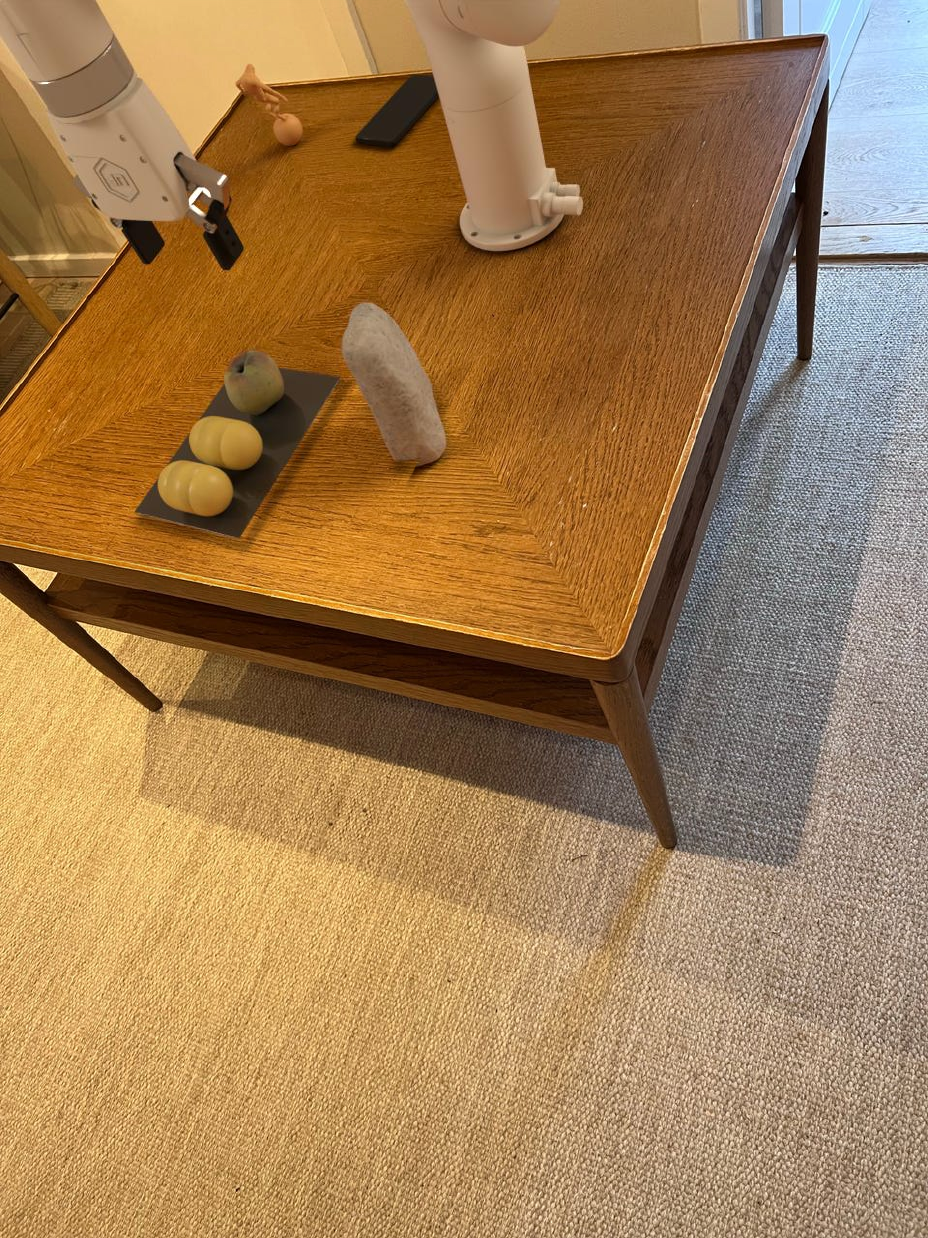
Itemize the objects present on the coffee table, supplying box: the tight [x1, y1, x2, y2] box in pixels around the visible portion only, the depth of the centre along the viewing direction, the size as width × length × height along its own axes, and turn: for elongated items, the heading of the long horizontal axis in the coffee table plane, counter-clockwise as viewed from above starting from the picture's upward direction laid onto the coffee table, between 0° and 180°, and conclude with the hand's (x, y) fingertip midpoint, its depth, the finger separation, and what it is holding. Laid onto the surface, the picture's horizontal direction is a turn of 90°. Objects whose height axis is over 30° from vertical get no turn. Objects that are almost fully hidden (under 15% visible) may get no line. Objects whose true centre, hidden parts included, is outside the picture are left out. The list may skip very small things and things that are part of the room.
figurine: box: [235, 63, 303, 147], centre depth 123 cm, size 8×6×12 cm
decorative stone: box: [341, 302, 447, 468], centre depth 86 cm, size 11×6×15 cm, turn 5°
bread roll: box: [157, 460, 233, 516], centre depth 90 cm, size 8×5×5 cm, turn 65°
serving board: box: [133, 367, 342, 540], centre depth 96 cm, size 14×22×2 cm, turn 155°
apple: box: [223, 349, 284, 415], centre depth 96 cm, size 6×8×6 cm
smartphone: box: [355, 74, 439, 148], centre depth 124 cm, size 7×1×15 cm
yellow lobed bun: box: [189, 416, 262, 470], centre depth 93 cm, size 8×5×5 cm, turn 65°
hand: (193, 257), depth 86 cm, fingers open, 9 cm apart
